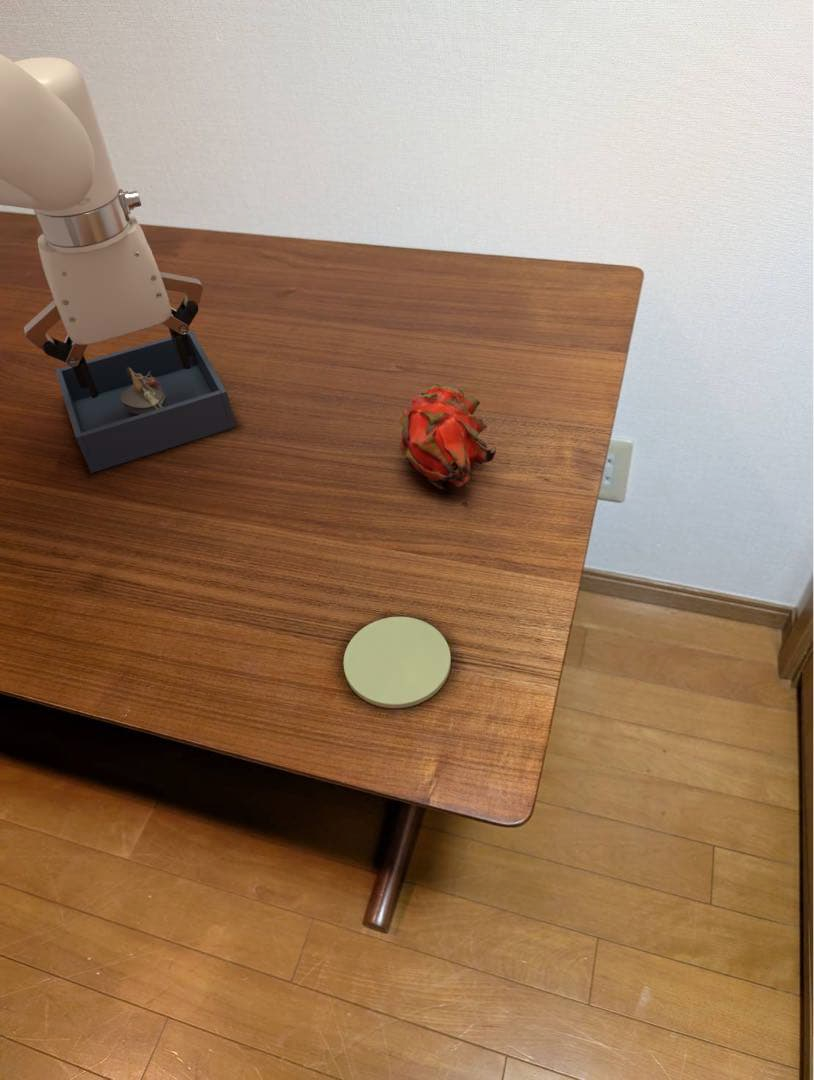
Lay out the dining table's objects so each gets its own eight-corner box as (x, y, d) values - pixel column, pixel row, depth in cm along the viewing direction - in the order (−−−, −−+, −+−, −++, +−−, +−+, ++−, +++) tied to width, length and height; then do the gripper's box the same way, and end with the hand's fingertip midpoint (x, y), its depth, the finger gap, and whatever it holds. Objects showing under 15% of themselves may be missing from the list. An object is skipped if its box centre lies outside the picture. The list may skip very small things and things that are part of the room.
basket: (91, 473, 84) (75, 437, 80) (69, 404, 92) (54, 369, 89) (235, 427, 88) (226, 391, 84) (202, 365, 96) (192, 330, 93)
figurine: (117, 412, 90) (99, 365, 85) (150, 392, 92) (134, 345, 88) (147, 430, 87) (131, 382, 83) (180, 409, 89) (166, 362, 85)
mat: (369, 725, 62) (369, 721, 61) (328, 644, 67) (327, 640, 67) (469, 681, 64) (469, 677, 63) (421, 606, 69) (421, 602, 69)
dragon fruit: (438, 435, 87) (463, 524, 80) (370, 411, 83) (391, 504, 76) (488, 379, 82) (520, 470, 75) (419, 350, 77) (446, 444, 70)
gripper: (167, 179, 79) (209, 335, 91) (-21, 225, 74) (50, 383, 87) (188, 210, 74) (229, 370, 86) (-12, 261, 70) (61, 422, 82)
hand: (139, 376), depth 87 cm, fingers open, 9 cm apart
